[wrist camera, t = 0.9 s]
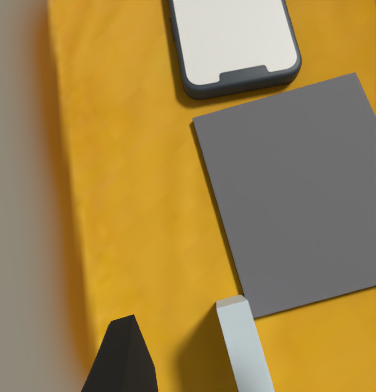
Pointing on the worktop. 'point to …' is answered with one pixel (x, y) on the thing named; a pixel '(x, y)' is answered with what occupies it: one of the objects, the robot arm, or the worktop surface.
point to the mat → (296, 192)
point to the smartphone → (233, 45)
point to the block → (243, 345)
